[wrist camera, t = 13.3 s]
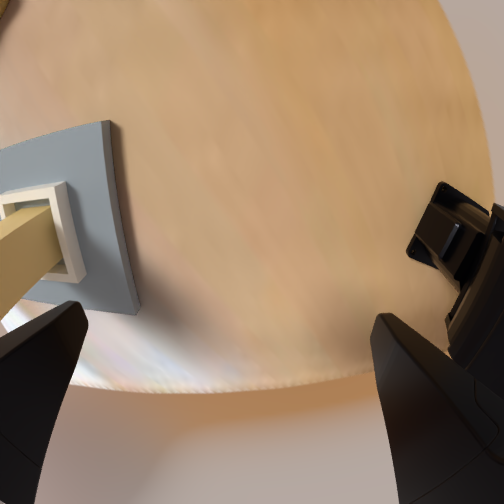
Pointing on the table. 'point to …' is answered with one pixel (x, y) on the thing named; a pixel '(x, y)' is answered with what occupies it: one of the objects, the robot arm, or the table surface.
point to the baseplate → (74, 215)
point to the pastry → (3, 6)
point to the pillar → (26, 252)
